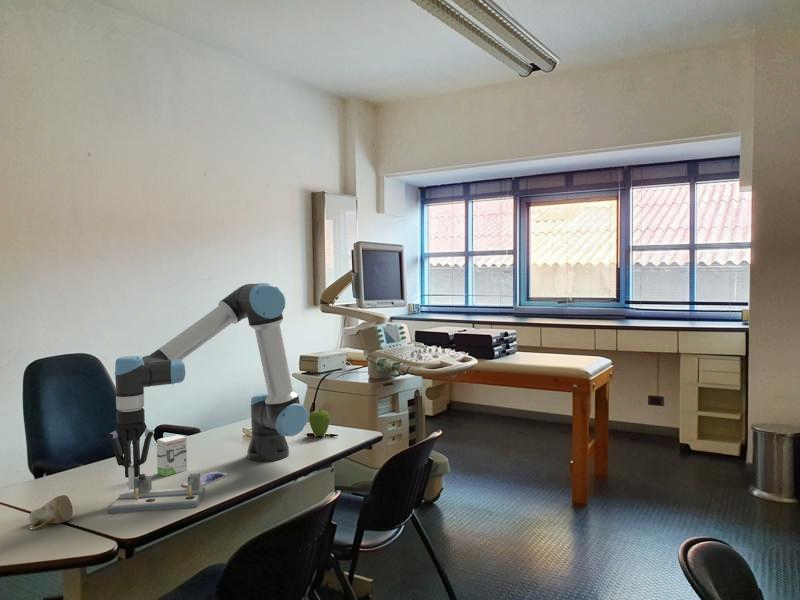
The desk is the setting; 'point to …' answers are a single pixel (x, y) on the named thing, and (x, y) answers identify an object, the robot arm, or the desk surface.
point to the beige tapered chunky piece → (52, 512)
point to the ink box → (171, 455)
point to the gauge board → (161, 498)
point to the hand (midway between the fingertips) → (133, 487)
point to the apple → (319, 422)
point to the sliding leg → (142, 485)
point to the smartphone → (208, 478)
